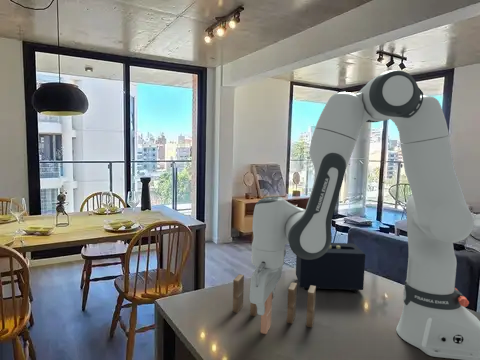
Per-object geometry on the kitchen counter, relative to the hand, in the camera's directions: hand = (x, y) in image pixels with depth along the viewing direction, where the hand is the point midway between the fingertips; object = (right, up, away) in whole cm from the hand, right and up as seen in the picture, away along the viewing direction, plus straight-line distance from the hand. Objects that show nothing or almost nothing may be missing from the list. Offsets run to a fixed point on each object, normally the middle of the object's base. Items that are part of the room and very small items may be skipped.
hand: (266, 305), depth 94 cm
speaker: (+25, -4, +31) cm, 40 cm away
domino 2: (-2, -6, +10) cm, 12 cm away
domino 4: (+8, -6, +6) cm, 12 cm away
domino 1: (-8, -5, +12) cm, 15 cm away
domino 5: (+13, -6, +5) cm, 15 cm away
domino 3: (0, -7, +1) cm, 7 cm away
